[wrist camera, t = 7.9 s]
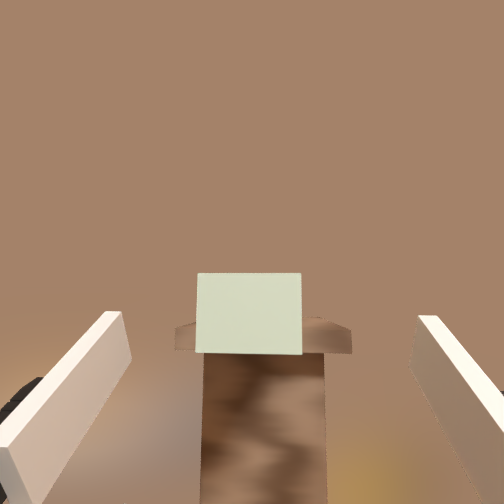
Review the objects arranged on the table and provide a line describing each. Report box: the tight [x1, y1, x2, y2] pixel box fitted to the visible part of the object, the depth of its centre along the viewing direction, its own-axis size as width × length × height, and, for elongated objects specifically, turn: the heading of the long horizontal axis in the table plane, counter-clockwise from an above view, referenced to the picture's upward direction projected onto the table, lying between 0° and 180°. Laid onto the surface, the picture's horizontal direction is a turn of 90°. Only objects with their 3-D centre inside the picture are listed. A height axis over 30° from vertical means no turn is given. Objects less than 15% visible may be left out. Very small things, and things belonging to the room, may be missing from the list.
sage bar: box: [195, 273, 302, 355], centre depth 26 cm, size 4×28×3 cm, turn 175°
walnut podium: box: [175, 317, 352, 504], centre depth 27 cm, size 12×16×30 cm
